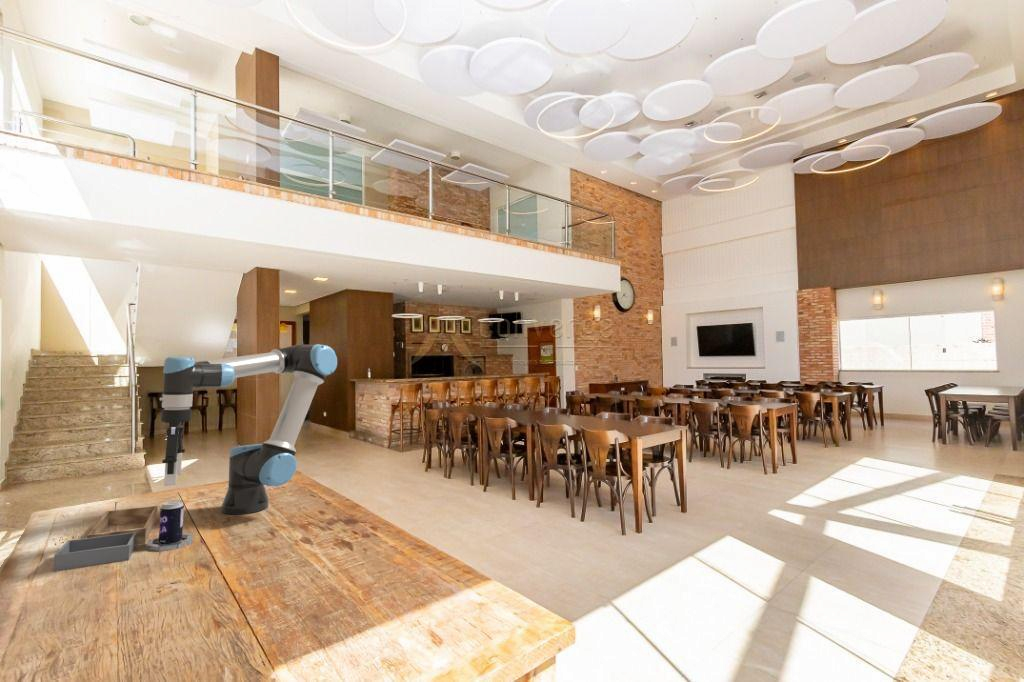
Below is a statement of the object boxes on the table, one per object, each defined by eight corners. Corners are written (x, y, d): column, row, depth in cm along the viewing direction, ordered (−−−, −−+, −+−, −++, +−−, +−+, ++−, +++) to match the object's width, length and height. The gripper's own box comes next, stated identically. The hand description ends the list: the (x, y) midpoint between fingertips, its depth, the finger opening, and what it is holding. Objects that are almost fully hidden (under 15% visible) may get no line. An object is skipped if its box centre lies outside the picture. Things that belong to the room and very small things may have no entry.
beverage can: (166, 540, 145) (168, 499, 145) (186, 539, 145) (188, 499, 146) (153, 547, 139) (156, 505, 139) (174, 547, 139) (176, 505, 140)
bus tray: (135, 545, 140) (136, 531, 140) (128, 560, 130) (129, 545, 130) (66, 555, 132) (67, 540, 132) (53, 571, 122) (54, 555, 122)
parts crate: (156, 519, 162) (157, 505, 162) (144, 543, 141) (145, 528, 141) (106, 525, 156) (107, 511, 156) (86, 551, 135) (87, 535, 135)
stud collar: (193, 534, 149) (194, 530, 149) (191, 546, 140) (191, 542, 140) (150, 540, 144) (150, 536, 144) (144, 553, 134) (144, 549, 134)
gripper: (166, 404, 153) (163, 472, 152) (155, 413, 131) (150, 491, 130) (195, 404, 156) (191, 469, 155) (188, 412, 135) (183, 488, 134)
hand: (172, 479), depth 143 cm, fingers open, 13 cm apart
